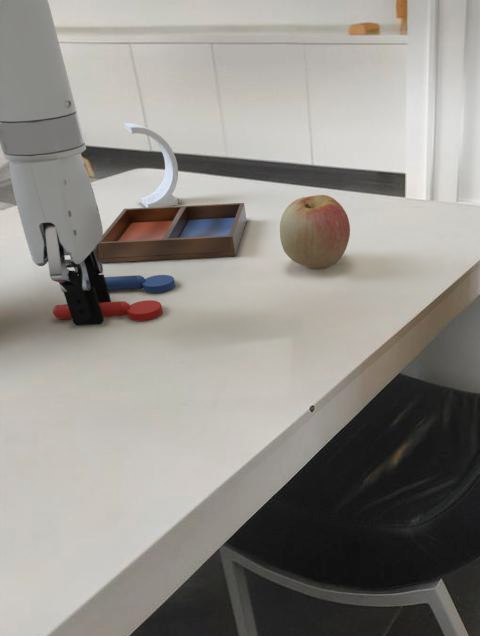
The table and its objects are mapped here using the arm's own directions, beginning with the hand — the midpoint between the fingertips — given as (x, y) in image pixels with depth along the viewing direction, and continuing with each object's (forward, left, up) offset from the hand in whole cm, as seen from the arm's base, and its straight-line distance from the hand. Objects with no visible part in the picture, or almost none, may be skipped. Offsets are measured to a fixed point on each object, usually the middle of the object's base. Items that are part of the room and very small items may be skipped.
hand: (93, 315), depth 77 cm
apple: (+25, +13, 0) cm, 28 cm away
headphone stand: (-1, +46, 0) cm, 46 cm away
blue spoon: (+2, +8, 0) cm, 8 cm away
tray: (+5, +26, 0) cm, 26 cm away
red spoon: (+2, 0, 0) cm, 2 cm away
